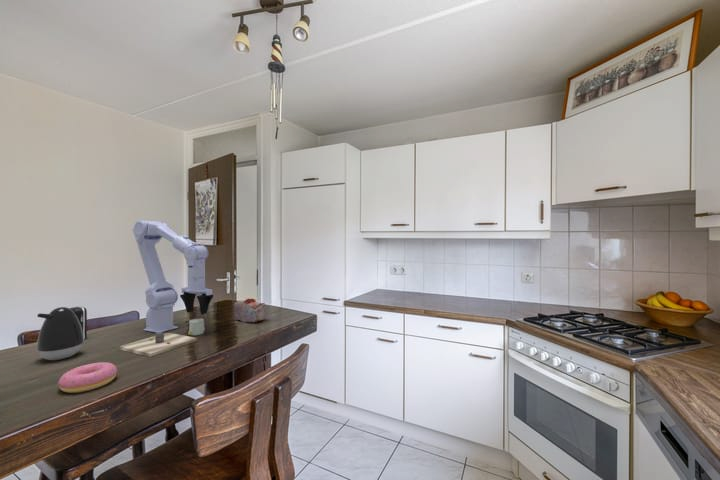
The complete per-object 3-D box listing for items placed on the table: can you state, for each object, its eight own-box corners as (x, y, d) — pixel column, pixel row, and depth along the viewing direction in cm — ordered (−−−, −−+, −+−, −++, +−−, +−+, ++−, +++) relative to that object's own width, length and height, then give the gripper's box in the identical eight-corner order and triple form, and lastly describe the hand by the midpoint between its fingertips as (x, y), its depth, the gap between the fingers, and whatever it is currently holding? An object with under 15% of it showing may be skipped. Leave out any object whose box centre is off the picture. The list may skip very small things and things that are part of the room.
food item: (267, 320, 134) (267, 298, 135) (254, 324, 127) (254, 301, 127) (244, 317, 140) (244, 295, 140) (230, 321, 133) (230, 299, 133)
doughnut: (48, 390, 72) (48, 372, 72) (102, 371, 82) (102, 356, 82) (72, 399, 68) (72, 381, 68) (127, 379, 78) (127, 363, 78)
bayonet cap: (184, 334, 114) (184, 321, 114) (199, 330, 119) (199, 317, 119) (193, 336, 112) (193, 323, 112) (208, 331, 117) (208, 318, 117)
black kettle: (27, 361, 89) (27, 309, 89) (71, 349, 99) (71, 302, 99) (48, 366, 86) (48, 312, 86) (91, 353, 95) (91, 305, 95)
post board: (119, 349, 99) (119, 337, 99) (167, 335, 113) (167, 324, 113) (150, 356, 92) (150, 343, 92) (197, 340, 107) (197, 329, 107)
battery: (65, 339, 109) (65, 307, 109) (78, 336, 112) (78, 305, 112) (73, 342, 106) (73, 309, 106) (87, 339, 109) (87, 307, 109)
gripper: (173, 277, 115) (174, 313, 115) (200, 279, 109) (200, 317, 109) (190, 275, 121) (191, 309, 121) (217, 277, 115) (217, 312, 115)
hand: (196, 312), depth 115 cm, fingers open, 7 cm apart
